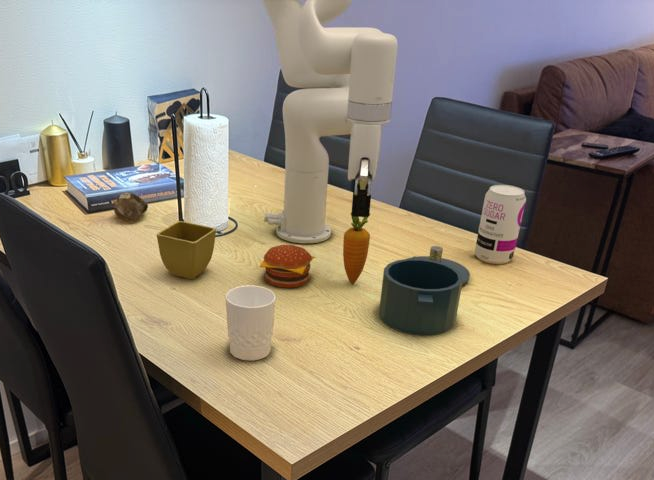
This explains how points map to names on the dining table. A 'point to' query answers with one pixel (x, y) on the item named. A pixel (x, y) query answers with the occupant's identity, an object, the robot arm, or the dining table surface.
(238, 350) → the white cup
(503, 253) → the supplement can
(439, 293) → the pot
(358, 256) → the carrot
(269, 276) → the hamburger
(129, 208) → the fossilized seashell
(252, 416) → the dining table surface
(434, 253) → the pot lid
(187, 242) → the flower pot
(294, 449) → the dining table surface
